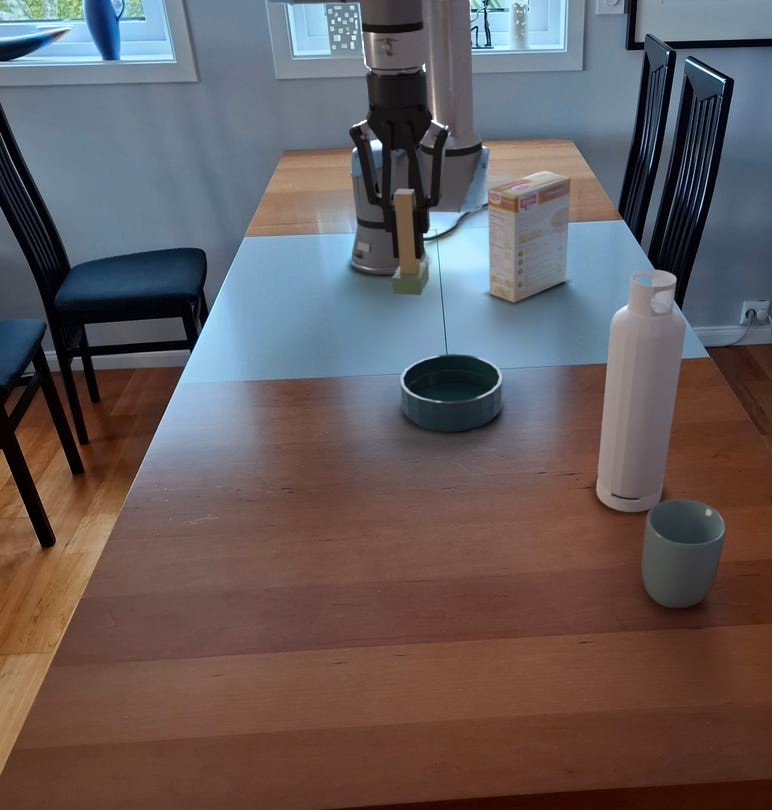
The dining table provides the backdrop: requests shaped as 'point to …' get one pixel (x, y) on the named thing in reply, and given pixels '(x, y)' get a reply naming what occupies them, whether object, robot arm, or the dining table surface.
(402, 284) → the brush
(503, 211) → the coffeecake box
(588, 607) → the dining table surface
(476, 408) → the bowl
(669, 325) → the bottle
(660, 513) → the cup
